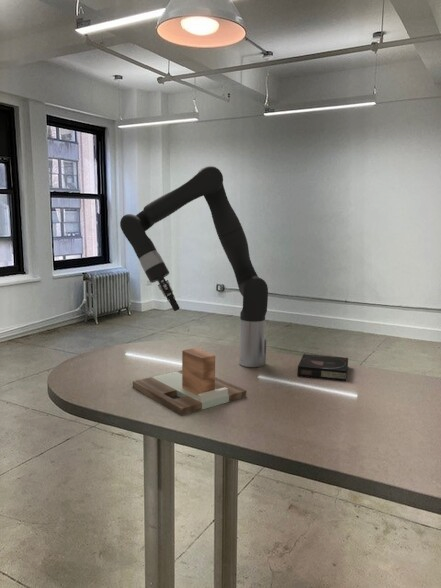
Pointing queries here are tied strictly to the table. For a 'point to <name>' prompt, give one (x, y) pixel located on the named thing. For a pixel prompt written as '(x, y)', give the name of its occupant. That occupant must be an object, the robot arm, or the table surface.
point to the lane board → (186, 393)
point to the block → (198, 371)
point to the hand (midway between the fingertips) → (177, 310)
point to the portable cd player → (323, 367)
